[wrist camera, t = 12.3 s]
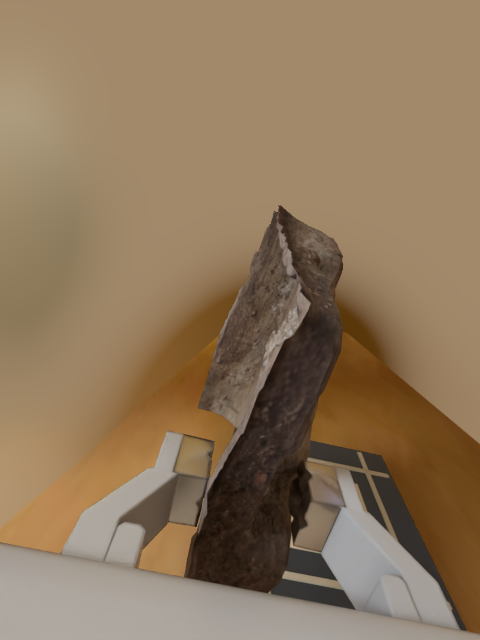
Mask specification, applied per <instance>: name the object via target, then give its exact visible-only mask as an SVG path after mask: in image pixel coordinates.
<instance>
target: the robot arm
mask: <svg viewBox="0 0 480 640" xmlns="http://www.w3.org/2000/svg"><path fill="white" fill-rule="evenodd" d="M214 442H215V441H211V440H207V439H203V438H198V437H194V436H190V435H186V434H184V436H183V434H180V433H176V432H172V431H168V432H167V433H166V435H165V438H164V441H163V444H162V447H161V450H160V453H159V455H158V458H157V461H156V464H155V467H154V468H150V467H149V468H148V469H146V470H145V471H143V472H142V473H140V474H139V475H137V476H136V477H134V478H133V479H131V480H130V481H128V482H127V483H125V484H124V485H122V486H121V487H119V488H118V489H116V490H115V491H113V492H112V493H110V494H109V495H107V496H106V497H104V498H103V499H101V500H100V501H98V502H97V503H95V504H94V505H92V506H91V507H89V508H88V509H86V510H85V511H83V513H82V514H81V516H80V518H79V520H78V522H77V524H76V526H75V528H74V529H73V531H72V533H71V535H70V537H69V539H68V541H67V543H66V545H65V546H64V548H63V550H62V552H61V554H59V553H54V552H48V551H43V550H38V549H33V548H27V547H22V546H17V545H12V544H6V543H1V542H0V640H480V634H479V633H474V632H469V631H463V630H460V628H459V626H458V624H457V622H456V620H455V617H454V615H453V613H452V611H451V609H450V607H449V605H448V603H447V601H446V598H445V596H444V594H443V592H442V590H441V588H440V586H439V584H438V582H437V581H436V580H435V579H434V578H433V577H432V576H431V575H430V574H429V573H428V572H427V571H426V570H425V569H424V568H423V567H422V566H421V565H420V564H419V563H418V562H417V561H416V560H415V559H414V558H413V557H412V556H411V555H410V554H409V553H408V552H407V551H406V550H405V549H404V548H403V547H402V545H401V544H400V543H399V542H398V541H397V540H396V539H395V538H394V537H393V536H392V535H391V534H390V533H389V532H388V531H387V530H386V529H385V528H384V527H383V526H382V525H381V524H380V523H379V522H378V521H377V520H376V519H375V518H374V517H373V516H372V515H371V514H370V513H369V512H364V509H363V506H362V503H361V501H360V498H359V495H358V492H357V490H356V487H355V484H354V481H353V478H352V476H351V473H350V471H349V470H348V469H347V468H342V467H336V466H329V465H324V464H319V463H314V462H309V461H305V460H301V461H300V463H299V465H298V467H297V475H298V477H297V478H295V479H294V480H293V481H292V484H291V487H290V491H289V497H288V507H289V513H290V514H291V515H292V517H293V521H292V523H291V532H292V540H293V546H295V547H299V548H303V549H308V550H312V551H317V552H321V555H322V557H323V558H324V560H325V561H326V563H327V565H328V566H329V568H330V569H331V571H332V573H333V574H334V576H335V577H336V579H337V580H338V582H339V584H340V585H341V587H342V588H343V590H344V592H345V593H346V595H347V596H348V598H349V600H350V601H351V603H352V604H353V606H354V607H355V609H356V610H353V609H348V608H343V607H337V606H332V605H327V604H322V603H317V602H311V601H306V600H301V599H295V598H290V597H285V596H280V595H274V594H269V593H264V592H259V591H253V590H248V589H243V588H238V587H232V586H227V585H222V584H217V583H211V582H206V581H201V580H196V579H190V578H185V577H180V576H175V575H169V574H164V573H159V572H154V571H148V570H143V569H138V568H139V563H140V557H141V552H142V550H143V549H144V548H145V547H146V546H147V545H148V544H149V542H150V541H151V540H152V539H153V538H154V537H155V536H156V535H157V534H158V533H159V532H160V531H161V530H162V529H163V528H164V527H165V526H166V525H167V523H168V522H170V523H176V524H182V525H188V526H194V527H197V523H198V520H199V516H200V512H201V508H202V502H203V498H204V497H205V492H206V487H207V482H208V480H209V476H210V470H211V464H212V460H211V458H212V454H213V450H214Z"/></svg>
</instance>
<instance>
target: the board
mask: <svg viewBox="0 0 480 640" xmlns="http://www.w3.org/2000/svg"><path fill="white" fill-rule="evenodd" d="M236 430H237V428H236V427H235V430H234V433H233V436H234V434H235V432H236ZM307 461H309V462H314V463H319V464H324V465H329V466H336V467H342V468H347V469H348V470H349V471H350V473H351V476H352V478H353V481H354V484H355V487H356V490H357V492H358V495H359V498H360V501H361V503H362V506H363V509H364V512H369V513H370V514H371V515H372V516H373V517H374V518H375V519H376V520H377V521H378V522H379V523H380V524H381V525H382V526H383V527H384V528H385V529H386V530H387V531H388V532H389V533H390V534H391V535H392V536H393V537H394V538H395V539H396V540H397V541H398V542H399V543H400V544H401V545H402V547H403V548H404V549H405V550H406V551H407V552H408V553H409V554H410V555H411V556H412V557H413V558H414V559H415V560H416V561H417V562H418V563H419V564H420V565H421V566H422V567H423V568H424V569H425V570H426V571H427V572H428V573H429V574H430V575H431V576H432V577H433V578H434V579H435V580H436V581H437V582H438V584H439V586H440V588H441V590H442V592H443V594H444V596H445V598H446V601H447V603H448V605H449V607H450V609H451V611H452V613H453V615H454V617H455V620H456V622H457V624H458V626H459V628H460V630H463V631H467V630H466V628H465V626H464V624H463V622H462V620H461V618H460V616H459V614H458V611H457V609H456V607H455V605H454V603H453V601H452V599H451V597H450V595H449V593H448V591H447V589H446V587H445V585H444V583H443V581H442V579H441V577H440V575H439V573H438V571H437V569H436V566H435V564H434V562H433V560H432V558H431V556H430V554H429V552H428V550H427V548H426V546H425V544H424V542H423V540H422V538H421V536H420V534H419V532H418V530H417V528H416V526H415V523H414V521H413V519H412V517H411V515H410V513H409V511H408V509H407V507H406V505H405V503H404V501H403V499H402V497H401V495H400V493H399V491H398V489H397V487H396V485H395V483H394V481H393V478H392V476H391V474H390V472H389V470H388V468H387V466H386V464H385V462H384V460H383V458H382V456H381V455H376V454H372V453H367V452H362V451H357V450H353V449H348V448H343V447H338V446H334V445H329V444H324V443H319V442H315V441H310V450H309V456H308V459H307ZM292 521H293V517H292V515H291V523H292ZM269 594H274V595H280V596H285V597H290V598H295V599H301V600H306V601H311V602H317V603H322V604H327V605H332V606H337V607H343V608H348V609H353V610H356V609H355V607H354V606H353V604H352V603H351V601H350V600H349V598H348V596H347V595H346V593H345V592H344V590H343V588H342V587H341V585H340V584H339V582H338V580H337V579H336V577H335V576H334V574H333V573H332V571H331V569H330V568H329V566H328V565H327V563H326V561H325V560H324V558H323V557H322V555H321V552H317V551H312V550H308V549H303V548H299V547H295V546H293V540H292V532H291V542H290V550H289V558H288V565H287V568H286V570H285V572H284V574H283V577H282V580H281V582H280V583H279V584H278V585H277V586H276V587H275V588H273V589H272V590H271V591H270V592H269Z"/></svg>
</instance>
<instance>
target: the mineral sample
mask: <svg viewBox="0 0 480 640" xmlns="http://www.w3.org/2000/svg"><path fill="white" fill-rule="evenodd" d="M342 257H343V256H342V254H341V252H340V250H339V248H338V245H337V243H336V242H335V241H334V239H333V238H330V237H328V236H327V235H326V234H324V233H323V232H321V231H319V230H317V229H314V228H312V227H310V226H308V225H306V224H304V223H303V222H301V221H299V220H298V219H296V218H294V217H293V216H292V215H291V214H290V213H288V212H287V211H286V210H285V209H284V208H283V207H282V206H279V210H278V212H275V211H274V213H273V218H272V221H271V224H270V225H269V226H268V228H267V229H266V232H265V234H264V237H263V240H262V244H261V246H260V249H259V252H257V251H255V253H254V256H253V259H252V262H251V266H250V273H249V276H248V279H247V281H246V283H245V284H244V285H243V286H242V287H241V288H240V290H239V293H238V296H237V298H236V301H235V303H234V304H233V308H232V309H231V310H230V312H229V315H228V319H227V320H225V324H224V327H223V329H222V330H221V333H220V336H219V339H218V342H217V346H216V349H215V352H214V356H213V359H212V363H211V366H210V370H209V373H208V377H207V380H206V383H205V387H204V390H203V392H202V395H201V399H200V402H199V405H198V408H199V409H203V410H207V411H211V412H214V413H216V414H218V415H221V416H223V417H224V418H226V419H227V420H228V421H229V422H230V423H231V424H232V425H234V426H235V427H236V428H237V430H236V432H235V434H234V436H233V438H232V439H231V441H230V443H229V444H228V446H227V448H226V449H225V451H224V453H223V454H222V456H221V458H220V459H219V462H218V464H217V467H216V469H215V472H214V474H213V476H212V477H211V478H210V479H209V480H208V482H207V487H206V492H205V497H204V502H203V507H202V513H201V518H200V523H199V526H198V529H197V532H196V533H195V534H194V535H193V537H192V539H191V544H190V549H189V553H188V558H187V563H186V570H185V574H184V577H185V578H190V579H196V580H201V581H206V582H211V583H217V584H222V585H227V586H232V587H238V588H243V589H248V590H253V591H259V592H264V593H269V592H270V591H271V590H272V589H273V588H275V587H276V586H277V585H278V584H279V583H280V582H281V580H282V577H283V574H284V572H285V570H286V568H287V565H288V558H289V550H290V542H291V514H290V513H289V507H288V497H289V491H290V487H291V484H292V481H293V480H294V479H295V478H297V477H298V475H297V467H298V465H299V463H300V461H301V460H305V461H307V459H308V456H309V450H310V435H311V428H312V423H313V420H314V416H315V412H316V409H317V405H318V398H319V396H320V395H321V393H322V392H323V391H324V389H325V387H326V385H327V383H328V380H329V378H330V375H331V373H332V371H333V368H334V366H335V364H336V361H337V359H338V356H339V354H340V352H341V343H342V332H343V328H342V323H341V318H340V313H339V310H338V307H337V305H336V303H335V288H336V285H337V283H338V281H339V278H340V276H341V273H342V270H343V263H342Z"/></svg>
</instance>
